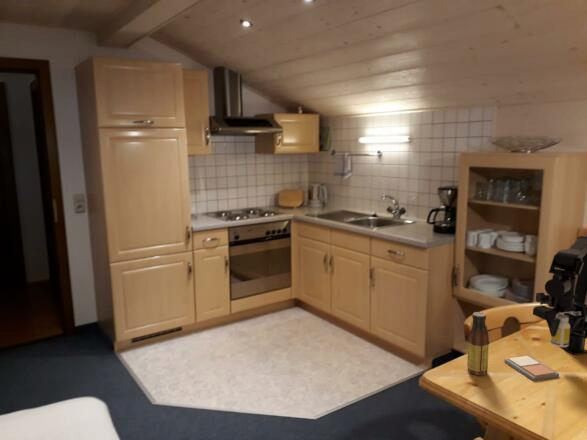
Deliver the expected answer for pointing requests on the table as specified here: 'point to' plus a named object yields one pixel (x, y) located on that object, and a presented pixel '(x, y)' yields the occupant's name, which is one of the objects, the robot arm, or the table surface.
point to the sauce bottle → (478, 345)
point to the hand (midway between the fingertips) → (559, 335)
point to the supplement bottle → (561, 332)
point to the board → (531, 368)
